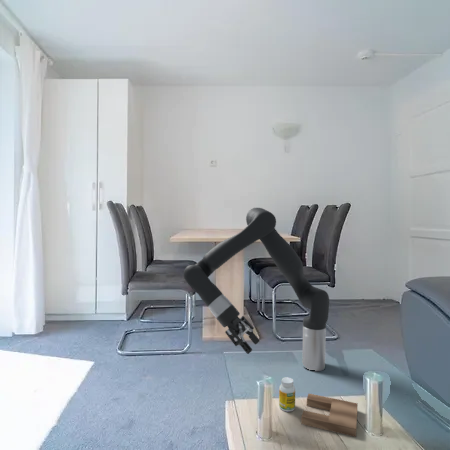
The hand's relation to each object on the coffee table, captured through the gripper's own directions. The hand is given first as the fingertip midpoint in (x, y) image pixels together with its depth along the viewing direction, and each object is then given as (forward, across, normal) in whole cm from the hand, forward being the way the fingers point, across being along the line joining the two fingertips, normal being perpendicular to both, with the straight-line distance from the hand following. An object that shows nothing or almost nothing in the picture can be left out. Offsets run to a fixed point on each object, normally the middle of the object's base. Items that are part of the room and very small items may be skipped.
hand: (254, 347), depth 123 cm
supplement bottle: (+22, 0, +5) cm, 22 cm away
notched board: (+32, 0, -5) cm, 32 cm away
